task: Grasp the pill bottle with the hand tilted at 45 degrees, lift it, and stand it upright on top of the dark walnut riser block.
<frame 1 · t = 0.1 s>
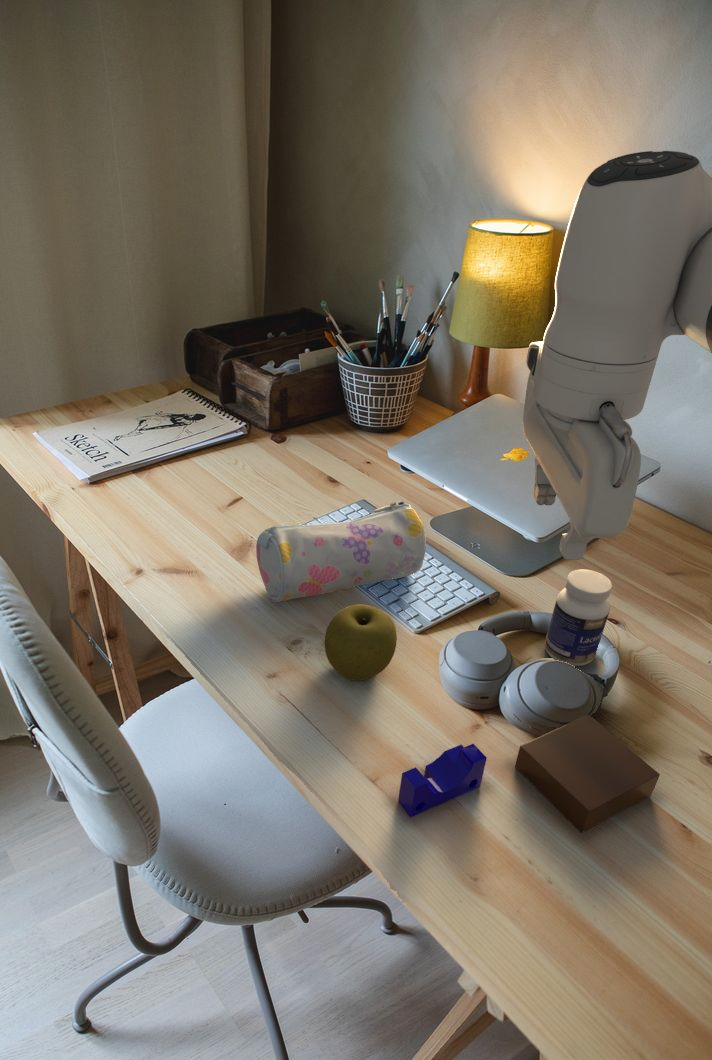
hand: (555, 527, 75), 21 cm above the table, tool pointing down, fingers open, 8 cm apart
pill bottle: (568, 653, 94), on the table
apple: (357, 670, 91), on the table
walnut riser: (581, 781, 79), on the table
pencil case: (340, 584, 104), on the table
cable holder: (434, 790, 78), on the table
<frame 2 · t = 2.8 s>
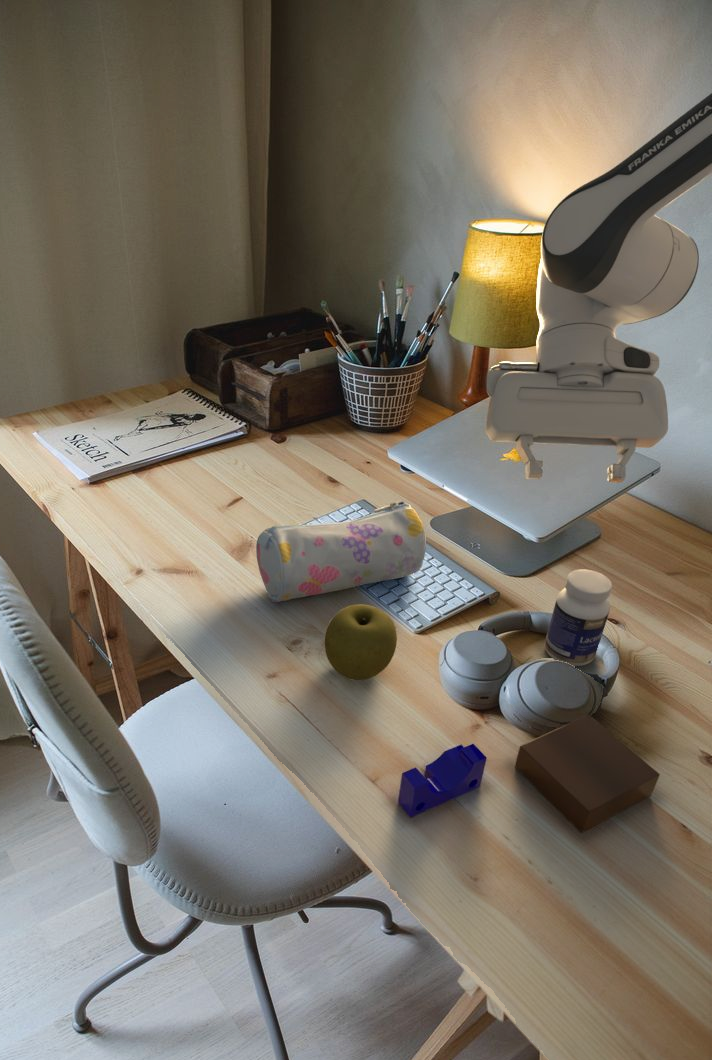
hand: (575, 479, 95), 16 cm above the table, tool tilted 45°, fingers open, 8 cm apart
nothing on the table moved.
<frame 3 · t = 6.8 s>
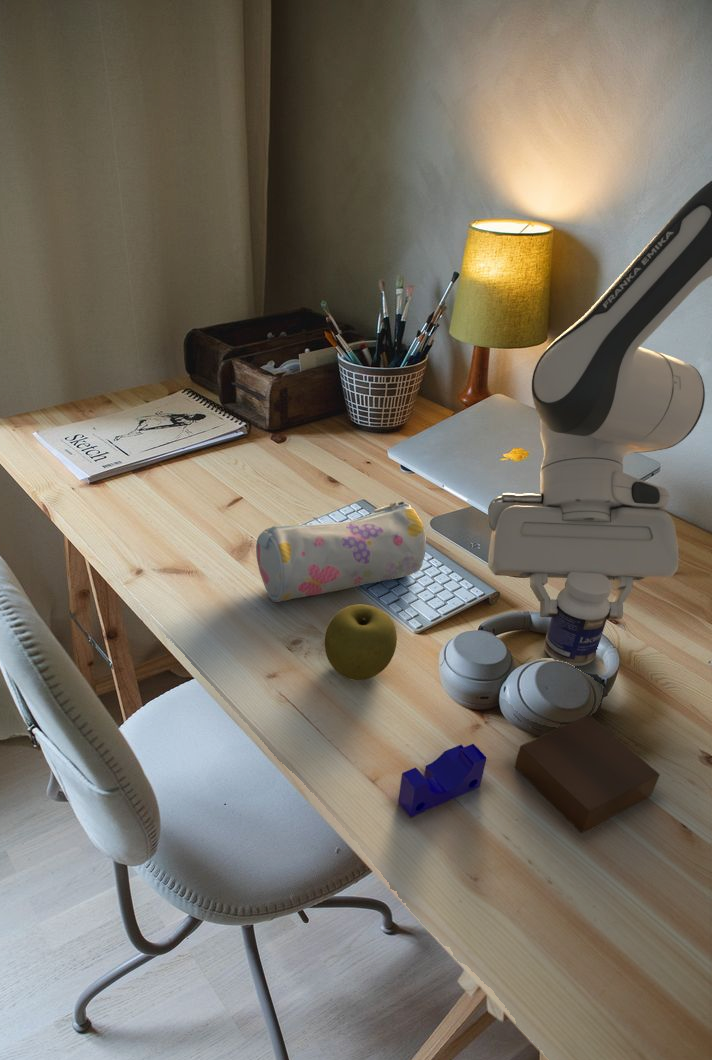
hand: (581, 617, 91), 5 cm above the table, tool tilted 45°, fingers closed on pill bottle, 6 cm apart
pill bottle: (568, 653, 94), on the table, touching gripper
everything else where it was.
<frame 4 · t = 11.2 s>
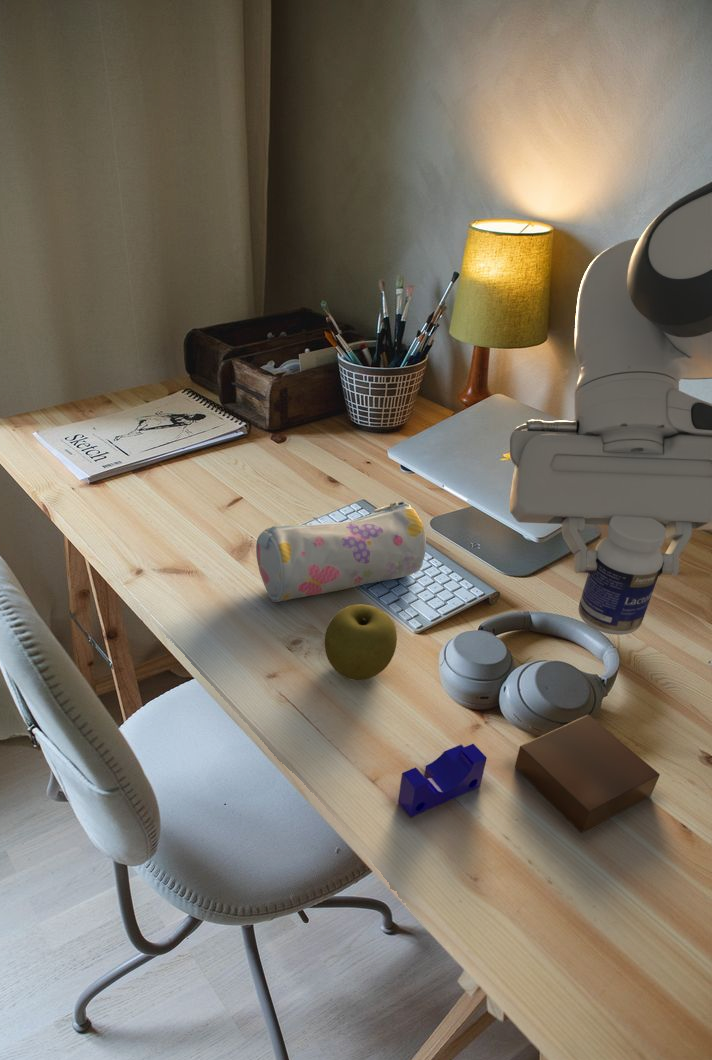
hand: (626, 574, 73), 19 cm above the table, tool tilted 45°, fingers closed on pill bottle, 6 cm apart
pill bottle: (608, 619, 77), point 14 cm above the table, touching gripper
everything else where it was.
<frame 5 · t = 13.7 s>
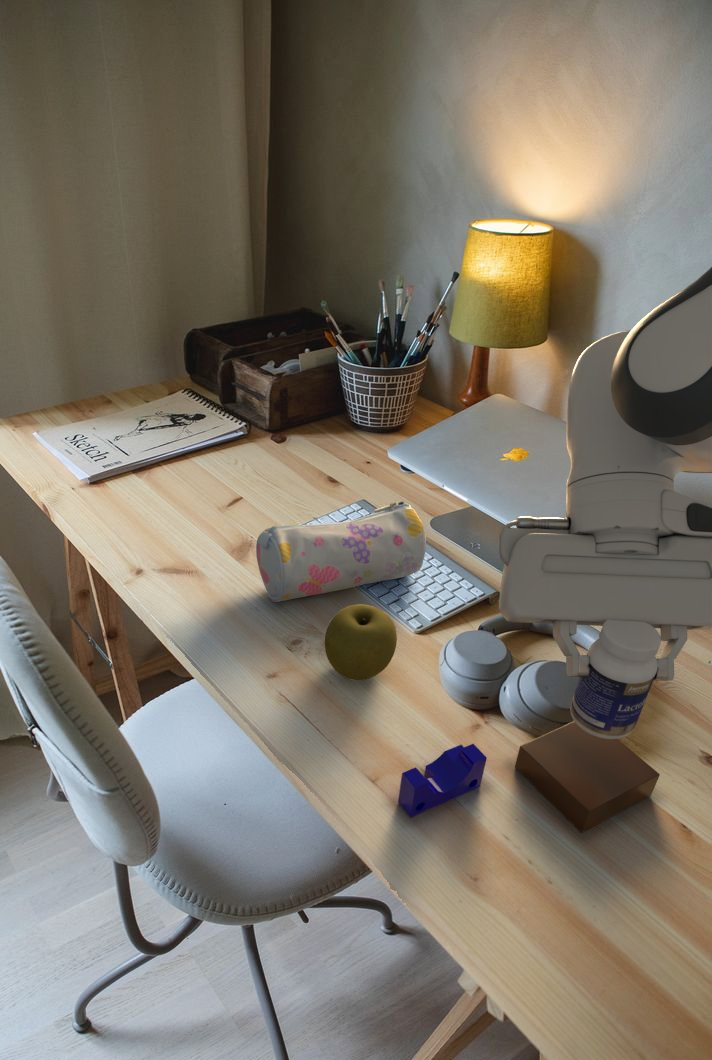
hand: (619, 678, 70), 14 cm above the table, tool tilted 45°, fingers closed on pill bottle, 6 cm apart
pill bottle: (601, 720, 74), point 8 cm above the table, touching gripper
everything else where it was.
when the fingers open (8 cm above the table, at t = 15.7 s): pill bottle stays where it is, resting on walnut riser.
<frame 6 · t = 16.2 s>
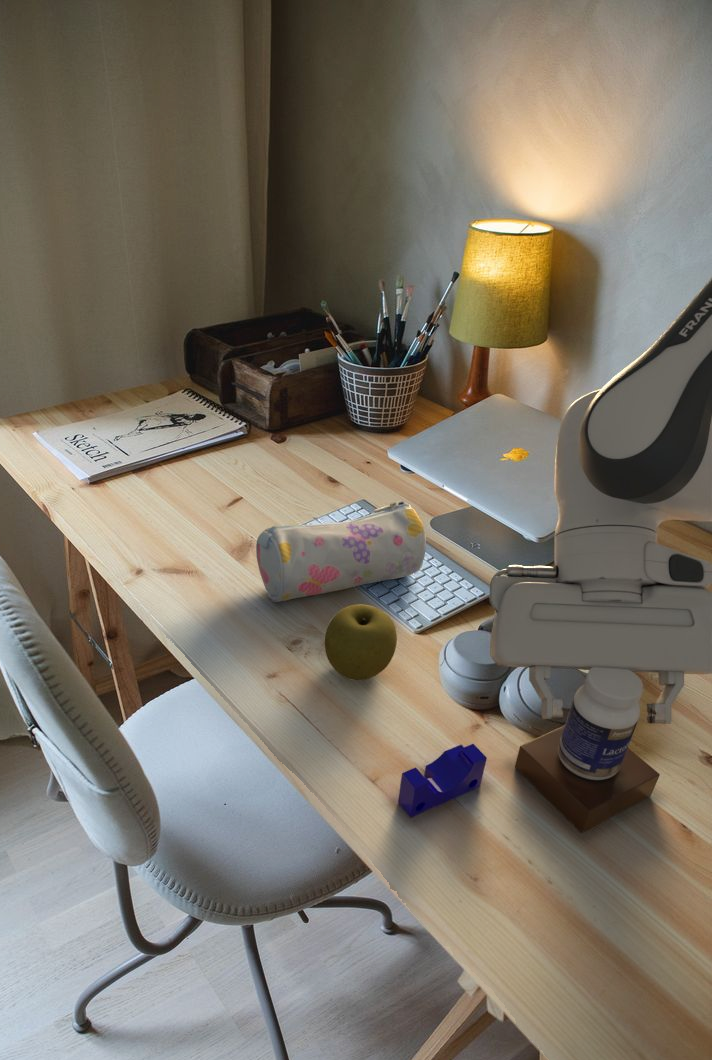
hand: (605, 721, 73), 9 cm above the table, tool tilted 45°, fingers open, 8 cm apart
pill bottle: (587, 760, 77), point 3 cm above the table, touching walnut riser
everything else where it was.
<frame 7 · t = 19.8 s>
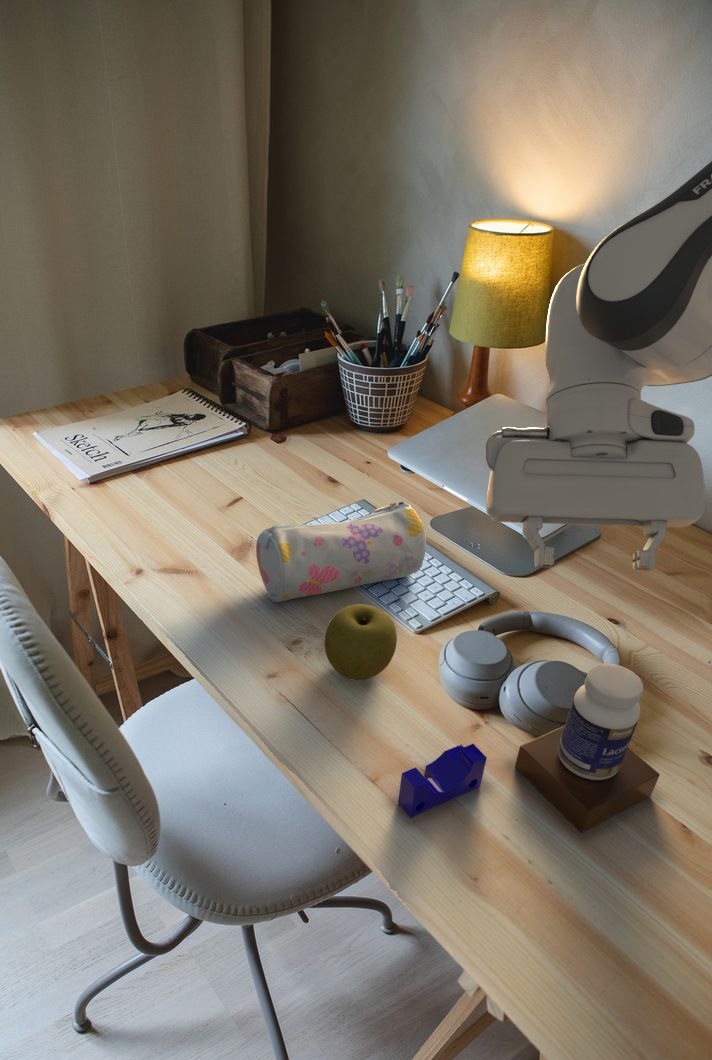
hand: (593, 568, 79), 16 cm above the table, tool tilted 45°, fingers open, 8 cm apart
nothing on the table moved.
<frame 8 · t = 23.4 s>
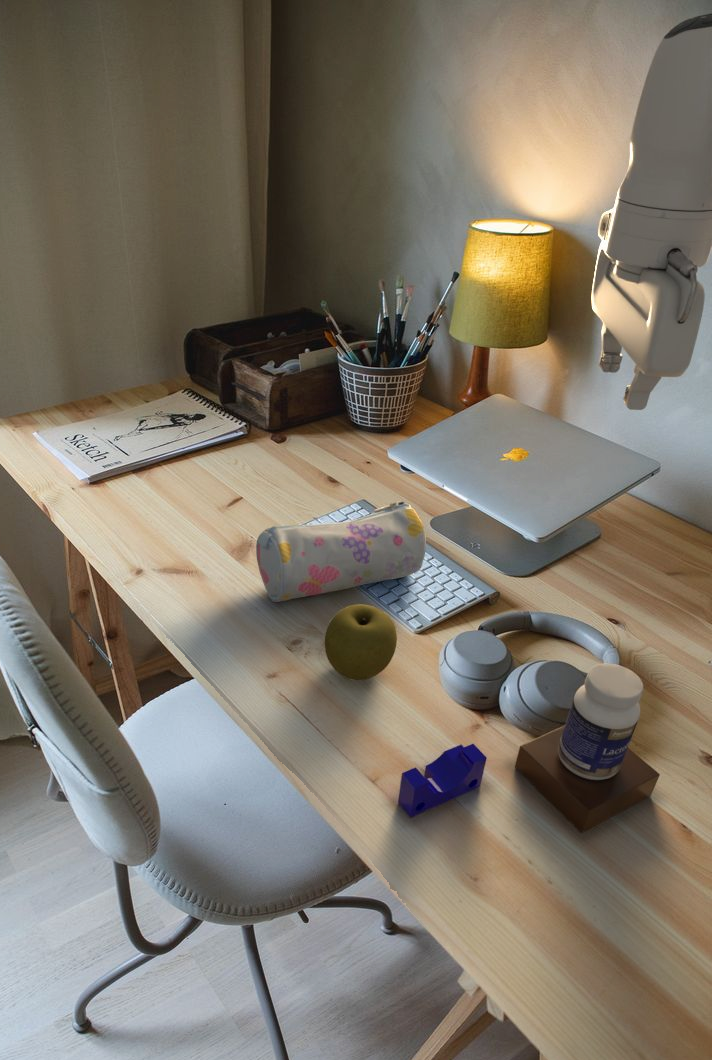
hand: (620, 387, 81), 29 cm above the table, tool pointing down, fingers open, 8 cm apart
nothing on the table moved.
at the end: pill bottle 0.1 cm off-centre on the walnut riser, point 2.8 cm above the walnut riser's base; pill bottle tilted 0°; the gripper is holding nothing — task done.
